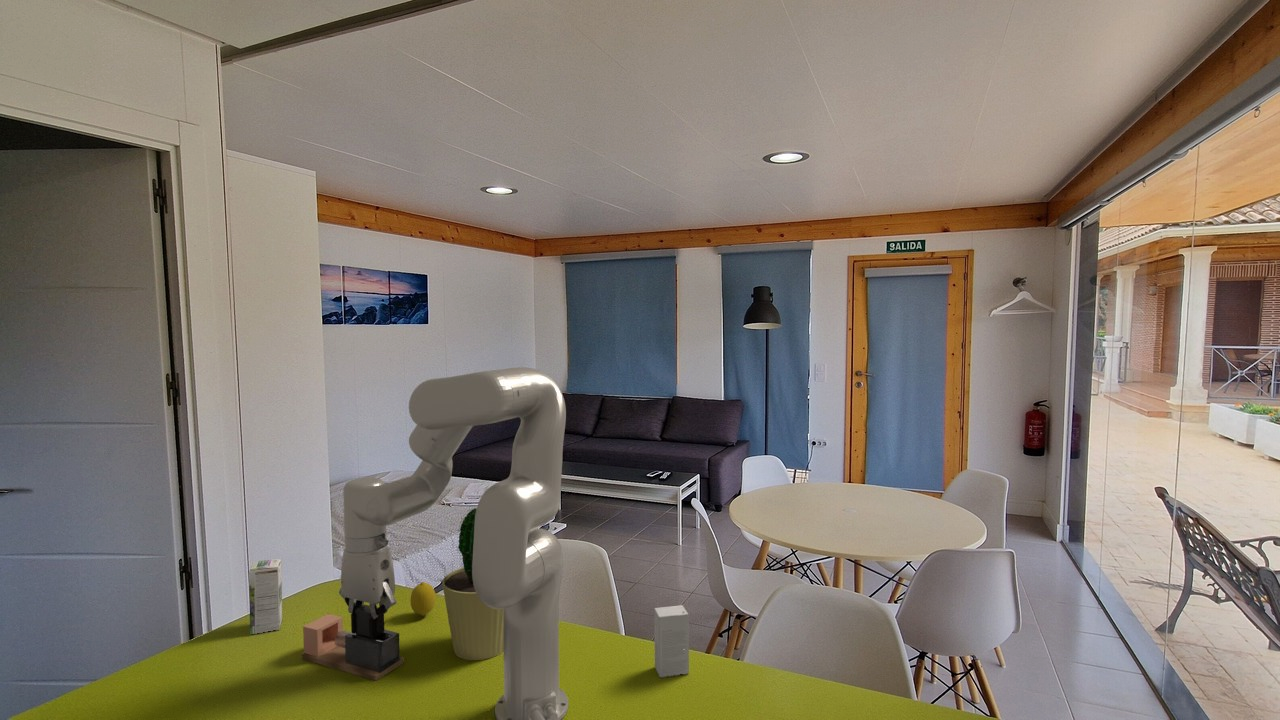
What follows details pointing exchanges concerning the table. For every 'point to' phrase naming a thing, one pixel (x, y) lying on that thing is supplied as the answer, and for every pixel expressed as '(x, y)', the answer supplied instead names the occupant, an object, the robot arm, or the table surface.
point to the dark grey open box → (373, 651)
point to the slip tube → (358, 626)
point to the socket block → (321, 634)
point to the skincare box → (671, 640)
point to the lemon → (423, 599)
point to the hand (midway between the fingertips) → (368, 631)
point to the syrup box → (265, 596)
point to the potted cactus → (471, 606)
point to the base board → (338, 661)
